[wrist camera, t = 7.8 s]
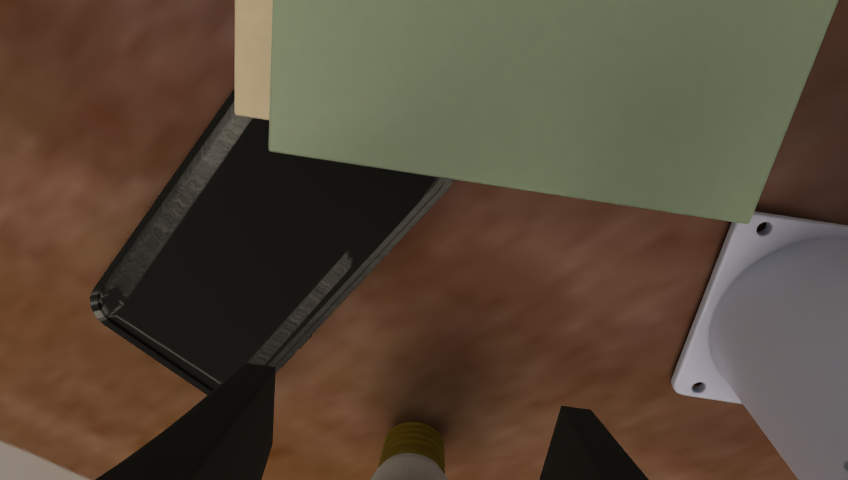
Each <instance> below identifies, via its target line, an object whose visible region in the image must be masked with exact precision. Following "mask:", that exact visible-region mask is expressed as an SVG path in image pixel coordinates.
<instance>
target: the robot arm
mask: <svg viewBox="0 0 848 480" xmlns="http://www.w3.org/2000/svg"><path fill="white" fill-rule="evenodd" d="M763 222H766V227H765V228H764V229H763V230H762V231H760V232H756V231H757V227H758V226H759V224H761V223H763ZM275 368H276V367H272V366H265V365H257V364H250V363H245V364H244V365H242V366H241V367H240V368H239V369H237V370H236V371H235V372H234V373H233V374H232V375H231V376H229V377H228V378H227V379H226V380H225V381H224V382H223V383H221V384H220V385H219V386H218V387H217V388H216V389H214V390H213V391H212V392H211V393H210V394H209V395H207V396H206V397H205V398H204V399H203V400H202V401H200V402H199V403H198V404H197V405H196V406H194V407H193V408H192V409H191V410H189V411H188V412H187V413H186V414H185V415H183V416H182V417H181V418H180V419H178V420H177V421H176V422H175V423H173V424H172V425H171V426H170V427H168V428H167V429H166V430H165V431H163V432H162V433H161V434H159V435H158V436H157V437H155V438H154V439H153V440H151V441H150V442H148V443H147V444H146V445H144V446H143V447H142V448H140V449H139V450H138V451H136V452H135V453H133V454H132V455H131V456H129V457H128V458H127V459H125V460H124V461H122V462H121V463H119V464H118V465H116V466H115V467H114V468H112V469H111V470H109V471H108V472H106V473H105V474H103V475H102V476H100V477H99V478H97V479H96V480H261V479H262V476H263V472H264V469H265V466H266V463H267V460H268V456H269V453H270V450H271V447H272V441H273V417H274V392H275ZM698 382H701V384H700V385H699V386H697V387H692V386H693V385H694V384H696V383H698ZM671 384H672V387H673V388H674V390H675V391H676V392H677V393H678V394H681V395H686V396H692V397H699V398H705V399H712V400H719V401H725V402H732V403H738V404H743V405H744V406H745V408H746V409H747V410H748V412H749V413H750V414H751V416H752V417H753V418H754V420H755V421H756V423H757V424H758V425H759V427H760V428H761V429H762V431H763V432H764V434H765V435H766V436H767V438H768V439H769V440H770V442H771V443H772V444H773V446H774V447H775V449H776V450H777V451H778V453H779V454H780V455H781V457H782V458H783V460H784V461H785V462H786V464H787V465H788V466H789V468H790V469H791V470H792V472H793V473H794V475H795V476H796V477H797V479H798V480H848V225H842V224H836V223H829V222H823V221H816V220H809V219H803V218H796V217H790V216H783V215H777V214H770V213H764V212H757V211H754V213H753V216H752V218H751V221H750V223H749V224H743V223H736V222H732V223H731V225H730V228H729V231H728V233H727V236H726V238H725V241H724V244H723V246H722V249H721V251H720V254H719V257H718V259H717V262H716V264H715V267H714V270H713V272H712V275H711V277H710V280H709V283H708V285H707V288H706V290H705V293H704V295H703V298H702V301H701V303H700V306H699V308H698V311H697V314H696V316H695V319H694V321H693V324H692V327H691V329H690V332H689V334H688V337H687V340H686V342H685V345H684V347H683V350H682V353H681V355H680V358H679V360H678V363H677V366H676V368H675V371H674V373H673V376H672V379H671ZM540 480H649V479H648V478H647V477H646V476H645V475H644V474H643V473H642V471H641V470H640V469H639V468H638V467H637V465H636V464H635V463H634V462H633V461H632V459H631V458H630V457H629V456H628V455H627V453H626V452H625V451H624V450H623V448H622V447H621V446H620V445H619V444H618V442H617V441H616V440H615V439H614V437H613V436H612V435H611V434H610V433H609V431H608V430H607V429H606V428H605V426H604V425H603V424H602V423H601V422H600V420H599V419H598V418H597V417H596V416H595V414H594V413H593V412H592V411H591V410H588V409H581V408H573V407H566V406H561V409H560V413H559V416H558V419H557V423H556V426H555V429H554V433H553V436H552V439H551V443H550V446H549V449H548V453H547V456H546V460H545V463H544V466H543V470H542V473H541V476H540Z"/></svg>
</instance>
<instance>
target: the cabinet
mask: <svg viewBox="0 0 848 480" xmlns="http://www.w3.org/2000/svg"><path fill="white" fill-rule="evenodd" d="M838 1H839V0H273V10H272V44H271V77H270V111H269V144H268V148H269V151H271V152H277V153H283V154H290V155H296V156H303V157H310V158H316V159H323V160H329V161H336V162H342V163H349V164H356V165H362V166H369V167H375V168H382V169H388V170H395V171H401V172H408V173H415V174H421V175H428V176H434V177H441V178H447V179H454V180H460V181H467V182H474V183H480V184H487V185H493V186H500V187H506V188H513V189H520V190H526V191H533V192H539V193H546V194H552V195H559V196H565V197H572V198H579V199H585V200H592V201H598V202H605V203H611V204H618V205H624V206H631V207H638V208H644V209H651V210H657V211H664V212H670V213H677V214H684V215H690V216H697V217H703V218H710V219H716V220H723V221H729V222H736V223H743V224H749V223H750V221H751V218H752V216H753V213H754V211H755V208H756V206H757V203H758V201H759V198H760V196H761V193H762V191H763V188H764V186H765V183H766V181H767V178H768V176H769V173H770V171H771V168H772V166H773V163H774V161H775V158H776V156H777V153H778V151H779V148H780V146H781V143H782V141H783V138H784V136H785V133H786V131H787V128H788V126H789V123H790V121H791V118H792V116H793V113H794V111H795V108H796V106H797V103H798V101H799V98H800V96H801V93H802V91H803V88H804V86H805V83H806V81H807V78H808V76H809V73H810V71H811V68H812V66H813V63H814V61H815V58H816V56H817V53H818V51H819V48H820V46H821V43H822V41H823V38H824V36H825V33H826V31H827V28H828V26H829V23H830V21H831V18H832V16H833V13H834V11H835V8H836V6H837V3H838Z"/></svg>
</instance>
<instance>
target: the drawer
mask: <svg viewBox="0 0 848 480" xmlns="http://www.w3.org/2000/svg"><path fill="white" fill-rule="evenodd" d="M272 10H273V0H235V99H234V112H235V114H236V115H238V116H244V117H251V118H257V119H264V120H269V111H270V77H271V44H272Z"/></svg>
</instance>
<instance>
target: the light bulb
mask: <svg viewBox="0 0 848 480" xmlns="http://www.w3.org/2000/svg"><path fill="white" fill-rule="evenodd" d="M444 460H445V459H444V442H443V439H442V437H441V435H440V434H439V433H438V432H437V431H436V430H435V429H434V428H433V427H431V426H429V425H427V424H424V423H421V422H405V423H401V424H399V425H397V426H395V427H393V428H392V429H391V430H390V431H389V432H388V434H387V436H386V438H385V442H384V445H383V450H382V455H381V458H380V463H379V466H378V469H377V470H376V471H375V473H374V474H373V476H372V478H371V480H448V479H447V477H446V475H445V462H444Z"/></svg>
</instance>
